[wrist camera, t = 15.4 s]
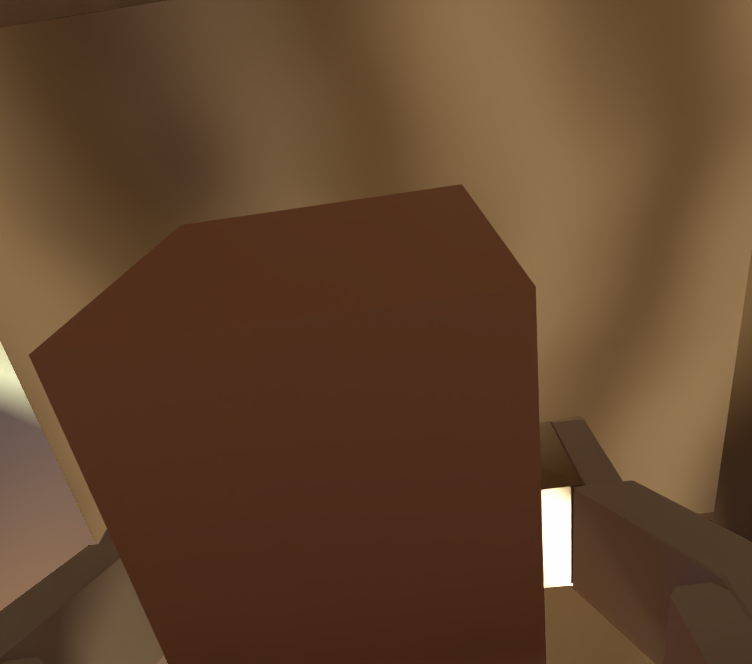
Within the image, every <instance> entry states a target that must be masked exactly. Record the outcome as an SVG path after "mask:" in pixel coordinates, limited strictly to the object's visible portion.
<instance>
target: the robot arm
mask: <svg viewBox="0 0 752 664" xmlns="http://www.w3.org/2000/svg"><path fill="white" fill-rule="evenodd" d="M540 459H541V495H542V532H543V569H544V587H556V586H568V585H573V589H574V590H575V591H577V592H578V593H579V594H580V595H581V596H582V597H583V598H584V599H585V600H586V601H588V602H589V603H590V604H591V605H592V606H593V607H594V608H595V609H596V610H597V611H598V612H600V613H601V614H602V615H603V616H604V617H605V618H606V619H607V620H608V621H609V622H610V623H612V624H613V625H614V626H615V627H616V628H617V629H618V630H619V631H620V632H621V633H623V634H624V635H625V636H626V637H627V638H628V639H629V640H630V641H631V642H632V643H633V644H635V645H636V646H637V647H638V648H639V649H640V650H641V651H642V652H643V653H644V654H646V655H647V656H648V657H649V658H650V659H651V660H652V661H653V662H654V663H655V664H752V542H751V541H749V540H747V539H745V538H743V537H741V536H739V535H737V534H736V533H734V532H732V531H730V530H728V529H726V528H724V527H722V526H720V525H718V524H716V523H714V522H712V521H711V520H709V519H707V518H705V517H703V516H701V515H699V514H697V513H695V512H693V511H691V510H689V509H687V508H685V507H684V506H682V505H680V504H678V503H676V502H674V501H672V500H670V499H668V498H666V497H664V496H662V495H660V494H659V493H657V492H655V491H653V490H651V489H649V488H647V487H645V486H643V485H641V484H639V483H637V482H635V481H633V480H631V481H623V480H622V479H621V477H620V476H619V474H618V472H617V471H616V469H615V467H614V466H613V464H612V463H611V461H610V459H609V458H608V456H607V455H606V453H605V451H604V450H603V448H602V446H601V445H600V443H599V442H598V440H597V438H596V437H595V435H594V434H593V432H592V430H591V429H590V427H589V425H588V424H587V422H586V421H585V419H584V418H583V417H581V416H573V417H567V418H560V419H554V420H548V421H547V422H540ZM163 655H164V654H163V651H162V649H161V647H160V645H159V643H158V640H157V638H156V636H155V634H154V632H153V629H152V627H151V625H150V623H149V620H148V618H147V616H146V614H145V612H144V609H143V607H142V605H141V603H140V601H139V598H138V596H137V594H136V592H135V589H134V587H133V585H132V583H131V581H130V578H129V576H128V574H127V572H126V569H125V567H124V565H123V563H122V561H121V558H120V556H119V554H118V552H117V550H116V547H115V545H114V543H113V541H112V538H111V536H110V534H109V532H108V530H107V529H106V531H105V533H104V535H103V537H102V538H101V540H100V542H99V544H96V545H88V547H86V548H84V549H83V550H82V551H80V552H79V553H78V554H77V555H75V556H74V557H73V558H71V559H70V560H68V561H67V562H66V563H64V564H63V565H62V566H60V567H59V568H58V569H56V570H55V571H54V572H52V573H51V574H50V575H48V576H47V577H46V578H44V579H43V580H42V581H40V582H39V583H38V584H36V585H35V586H33V587H32V588H31V589H29V590H28V591H27V592H25V593H24V594H23V595H21V596H20V597H19V598H17V599H16V600H15V601H13V602H12V603H11V604H9V605H8V606H7V607H5V608H4V609H3V610H1V611H0V664H157V662H158V661H159V660H160V659H161V658H162V656H163Z"/></svg>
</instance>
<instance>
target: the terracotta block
mask: <svg viewBox="0 0 752 664" xmlns="http://www.w3.org/2000/svg"><path fill="white" fill-rule="evenodd" d="M29 357H30V359H31V361H32V364H33V366H34V368H35V370H36V372H37V375H38V377H39V379H40V381H41V383H42V386H43V388H44V390H45V392H46V395H47V397H48V399H49V401H50V403H51V406H52V408H53V410H54V412H55V414H56V417H57V419H58V421H59V423H60V426H61V428H62V430H63V432H64V434H65V437H66V439H67V441H68V443H69V445H70V448H71V450H72V452H73V454H74V457H75V459H76V461H77V463H78V465H79V468H80V470H81V472H82V474H83V476H84V479H85V481H86V483H87V485H88V488H89V490H90V492H91V494H92V496H93V499H94V501H95V503H96V505H97V507H98V510H99V512H100V514H101V516H102V519H103V521H104V523H105V525H106V527H107V530H108V532H109V534H110V536H111V538H112V541H113V543H114V545H115V547H116V550H117V552H118V554H119V556H120V558H121V561H122V563H123V565H124V567H125V569H126V572H127V574H128V576H129V578H130V581H131V583H132V585H133V587H134V589H135V592H136V594H137V596H138V598H139V601H140V603H141V605H142V607H143V609H144V612H145V614H146V616H147V618H148V620H149V623H150V625H151V627H152V629H153V632H154V634H155V636H156V638H157V640H158V643H159V645H160V647H161V649H162V651H163V654H164V655H165V658H166V660H167V663H168V664H546V642H545V606H544V569H543V532H542V495H541V459H540V422H539V385H538V348H537V312H536V286H535V285H534V283H533V282H532V281H531V279H530V278H529V277H528V275H527V274H526V272H525V271H524V270H523V268H522V267H521V265H520V264H519V263H518V261H517V260H516V258H515V257H514V256H513V254H512V253H511V252H510V250H509V249H508V247H507V246H506V245H505V243H504V242H503V240H502V239H501V238H500V236H499V235H498V234H497V232H496V231H495V229H494V228H493V227H492V225H491V224H490V222H489V221H488V220H487V218H486V217H485V215H484V214H483V213H482V211H481V210H480V209H479V207H478V206H477V204H476V203H475V202H474V200H473V199H472V197H471V196H470V195H469V193H468V192H467V191H466V189H465V188H464V186H463V185H462V184H459V185H452V186H445V187H439V188H432V189H425V190H418V191H411V192H404V193H397V194H390V195H384V196H377V197H370V198H363V199H356V200H349V201H342V202H335V203H329V204H322V205H315V206H308V207H301V208H294V209H287V210H280V211H274V212H267V213H260V214H253V215H246V216H239V217H232V218H225V219H219V220H212V221H205V222H198V223H191V224H184V225H180V226H179V227H178V228H177V229H176V230H174V231H173V232H172V233H171V234H170V235H169V236H167V237H166V238H165V239H164V240H163V241H162V242H160V243H159V244H158V245H157V246H156V247H155V248H153V249H152V250H151V251H150V252H149V253H147V254H146V255H145V256H144V257H143V258H142V259H140V260H139V261H138V262H137V263H136V264H135V265H133V266H132V267H131V268H130V269H129V270H128V271H126V272H125V273H124V274H123V275H122V276H120V277H119V278H118V279H117V280H116V281H115V282H113V283H112V284H111V285H110V286H109V287H108V288H106V289H105V290H104V291H103V292H102V293H101V294H99V295H98V296H97V297H96V298H95V299H93V300H92V301H91V302H90V303H89V304H88V305H86V306H85V307H84V308H83V309H82V310H81V311H79V312H78V313H77V314H76V315H75V316H74V317H72V318H71V319H70V320H69V321H68V322H66V323H65V324H64V325H63V326H62V327H61V328H59V329H58V330H57V331H56V332H55V333H54V334H52V335H51V336H50V337H49V338H48V339H47V340H45V341H44V342H43V343H42V344H41V345H39V346H38V347H37V348H36V349H35V350H34V351H32V352H31V353H30V354H29Z"/></svg>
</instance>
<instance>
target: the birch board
mask: <svg viewBox="0 0 752 664" xmlns="http://www.w3.org/2000/svg"><path fill="white" fill-rule="evenodd" d="M459 184H462V185H463V186H464V188H465V189H466V191H467V192H468V193H469V195H470V196H471V197H472V199H473V200H474V202H475V203H476V204H477V206H478V207H479V209H480V210H481V211H482V213H483V214H484V215H485V217H486V218H487V220H488V221H489V222H490V224H491V225H492V227H493V228H494V229H495V231H496V232H497V234H498V235H499V236H500V238H501V239H502V240H503V242H504V243H505V245H506V246H507V247H508V249H509V250H510V252H511V253H512V254H513V256H514V257H515V258H516V260H517V261H518V263H519V264H520V265H521V267H522V268H523V270H524V271H525V272H526V274H527V275H528V277H529V278H530V279H531V281H532V282H533V283H534V285H535V286H536V312H537V348H538V385H539V422H547V421H548V420H554V419H560V418H567V417H573V416H581V417H583V418H584V419H585V421H586V422H587V424H588V425H589V427H590V429H591V430H592V432H593V434H594V435H595V437H596V438H597V440H598V442H599V443H600V445H601V446H602V448H603V450H604V451H605V453H606V455H607V456H608V458H609V459H610V461H611V463H612V464H613V466H614V467H615V469H616V471H617V472H618V474H619V476H620V477H621V479H622V480H623V481H631V480H633V481H635V482H637V483H639V484H641V485H643V486H645V487H647V488H649V489H651V490H653V491H655V492H657V493H659V494H660V495H662V496H664V497H666V498H668V499H670V500H672V501H674V502H676V503H678V504H680V505H682V506H684V507H685V508H687V509H689V510H691V511H693V512H695V513H697V514H702V513H711V512H714V508H715V501H716V494H717V487H718V480H719V473H720V466H721V459H722V452H723V445H724V438H725V431H726V424H727V417H728V410H729V403H730V396H731V389H732V383H733V376H734V369H735V362H736V355H737V348H738V341H739V334H740V327H741V320H742V313H743V306H744V299H745V292H746V285H747V278H748V271H749V264H750V257H751V250H752V0H166V1H160V2H153V3H147V4H141V5H135V6H129V7H123V8H117V9H111V10H105V11H99V12H93V13H87V14H80V15H74V16H68V17H62V18H56V19H50V20H44V21H38V22H32V23H26V24H20V25H13V26H7V27H1V28H0V341H1V343H2V345H3V347H4V350H5V352H6V354H7V356H8V358H9V360H10V362H11V364H12V367H13V369H14V371H15V373H16V375H17V377H18V379H19V381H20V384H21V386H22V388H23V390H24V392H25V394H26V396H27V398H28V401H29V403H30V405H31V407H32V409H33V411H34V413H35V415H36V418H37V420H38V422H39V424H40V426H41V428H42V430H43V432H44V434H45V437H46V439H47V441H48V443H49V445H50V447H51V449H52V452H53V454H54V456H55V458H56V460H57V462H58V464H59V466H60V469H61V471H62V473H63V475H64V477H65V479H66V481H67V484H68V486H69V488H70V490H71V492H72V494H73V496H74V498H75V500H76V503H77V505H78V507H79V509H80V511H81V513H82V515H83V518H84V520H85V522H86V524H87V526H88V528H89V530H90V532H91V535H92V537H93V539H94V541H95V543H96V544H99V542H100V540H101V538H102V537H103V535H104V533H105V531H106V529H107V527H106V525H105V523H104V521H103V519H102V516H101V514H100V512H99V510H98V507H97V505H96V503H95V501H94V499H93V496H92V494H91V492H90V490H89V488H88V485H87V483H86V481H85V479H84V476H83V474H82V472H81V470H80V468H79V465H78V463H77V461H76V459H75V457H74V454H73V452H72V450H71V448H70V445H69V443H68V441H67V439H66V437H65V434H64V432H63V430H62V428H61V426H60V423H59V421H58V419H57V417H56V414H55V412H54V410H53V408H52V406H51V403H50V401H49V399H48V397H47V395H46V392H45V390H44V388H43V386H42V383H41V381H40V379H39V377H38V375H37V372H36V370H35V368H34V366H33V364H32V361H31V359H30V357H29V354H30V353H31V352H32V351H34V350H35V349H36V348H37V347H38V346H39V345H41V344H42V343H43V342H44V341H45V340H47V339H48V338H49V337H50V336H51V335H52V334H54V333H55V332H56V331H57V330H58V329H59V328H61V327H62V326H63V325H64V324H65V323H66V322H68V321H69V320H70V319H71V318H72V317H74V316H75V315H76V314H77V313H78V312H79V311H81V310H82V309H83V308H84V307H85V306H86V305H88V304H89V303H90V302H91V301H92V300H93V299H95V298H96V297H97V296H98V295H99V294H101V293H102V292H103V291H104V290H105V289H106V288H108V287H109V286H110V285H111V284H112V283H113V282H115V281H116V280H117V279H118V278H119V277H120V276H122V275H123V274H124V273H125V272H126V271H128V270H129V269H130V268H131V267H132V266H133V265H135V264H136V263H137V262H138V261H139V260H140V259H142V258H143V257H144V256H145V255H146V254H147V253H149V252H150V251H151V250H152V249H153V248H155V247H156V246H157V245H158V244H159V243H160V242H162V241H163V240H164V239H165V238H166V237H167V236H169V235H170V234H171V233H172V232H173V231H174V230H176V229H177V228H178V227H179V226H180V225H184V224H191V223H198V222H205V221H212V220H219V219H225V218H232V217H239V216H246V215H253V214H260V213H267V212H274V211H280V210H287V209H294V208H301V207H308V206H315V205H322V204H329V203H335V202H342V201H349V200H356V199H363V198H370V197H377V196H384V195H390V194H397V193H404V192H411V191H418V190H425V189H432V188H439V187H445V186H452V185H459Z"/></svg>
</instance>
